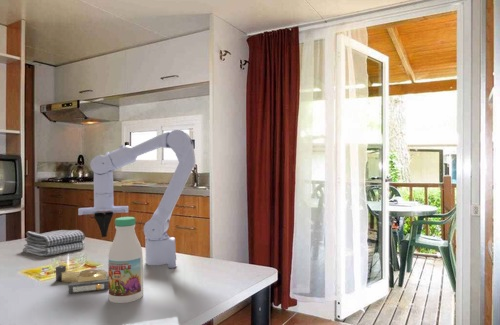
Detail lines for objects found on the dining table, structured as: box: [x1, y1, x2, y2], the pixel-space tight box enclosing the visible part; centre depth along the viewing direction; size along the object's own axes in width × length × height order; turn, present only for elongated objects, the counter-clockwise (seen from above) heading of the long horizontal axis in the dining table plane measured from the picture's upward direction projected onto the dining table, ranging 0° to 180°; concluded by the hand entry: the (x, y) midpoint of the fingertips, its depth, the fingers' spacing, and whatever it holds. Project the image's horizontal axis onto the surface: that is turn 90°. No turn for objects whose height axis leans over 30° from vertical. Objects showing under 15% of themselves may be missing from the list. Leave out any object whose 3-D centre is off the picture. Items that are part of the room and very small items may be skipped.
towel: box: [22, 229, 86, 257], centre depth 133 cm, size 15×18×8 cm
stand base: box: [68, 278, 109, 295], centre depth 92 cm, size 16×16×3 cm
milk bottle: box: [107, 216, 144, 304], centre depth 82 cm, size 8×8×20 cm
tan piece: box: [55, 265, 108, 283], centre depth 92 cm, size 15×7×4 cm, turn 73°
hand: (104, 236), depth 109 cm, fingers closed
